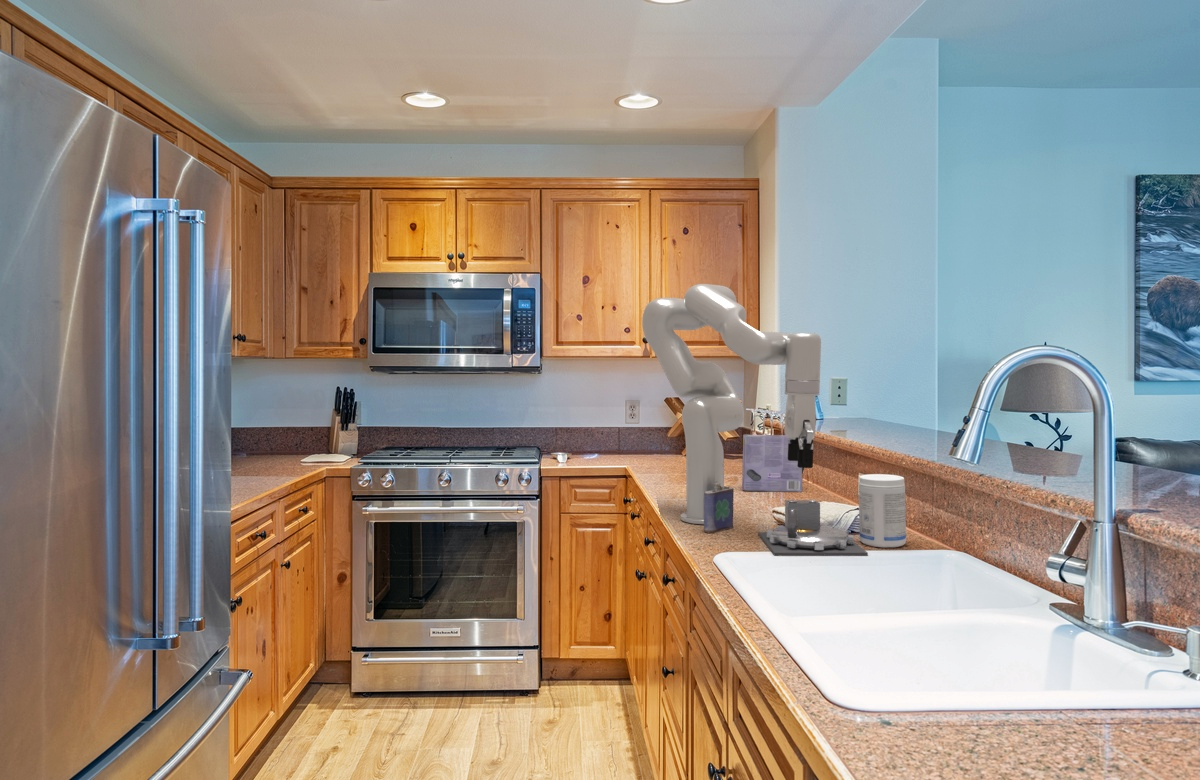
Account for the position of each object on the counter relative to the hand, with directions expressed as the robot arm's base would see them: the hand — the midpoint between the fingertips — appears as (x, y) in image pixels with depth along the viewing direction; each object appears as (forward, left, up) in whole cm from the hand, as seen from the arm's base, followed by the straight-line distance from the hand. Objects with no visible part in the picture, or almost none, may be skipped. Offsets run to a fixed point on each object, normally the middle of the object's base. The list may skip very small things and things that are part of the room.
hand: (799, 464), depth 165 cm
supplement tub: (+4, +17, -17) cm, 24 cm away
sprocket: (+5, +1, -16) cm, 17 cm away
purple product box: (-65, +7, -17) cm, 68 cm away
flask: (-10, -17, -17) cm, 26 cm away
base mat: (+5, +1, -17) cm, 18 cm away
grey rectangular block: (0, 0, -15) cm, 14 cm away
